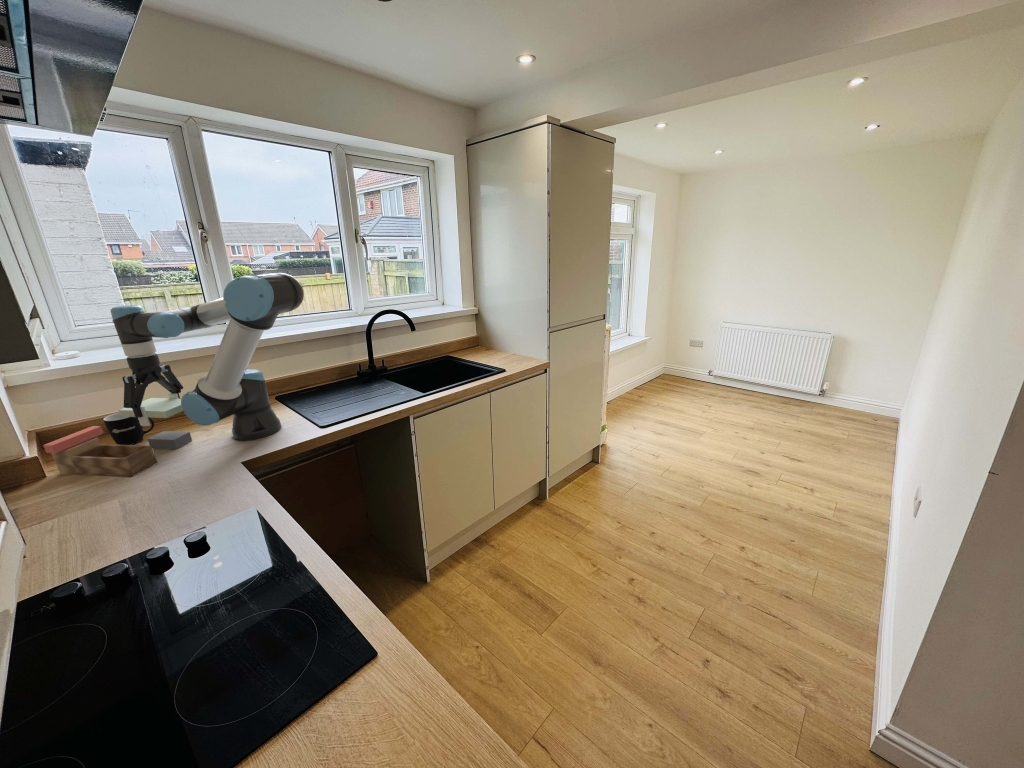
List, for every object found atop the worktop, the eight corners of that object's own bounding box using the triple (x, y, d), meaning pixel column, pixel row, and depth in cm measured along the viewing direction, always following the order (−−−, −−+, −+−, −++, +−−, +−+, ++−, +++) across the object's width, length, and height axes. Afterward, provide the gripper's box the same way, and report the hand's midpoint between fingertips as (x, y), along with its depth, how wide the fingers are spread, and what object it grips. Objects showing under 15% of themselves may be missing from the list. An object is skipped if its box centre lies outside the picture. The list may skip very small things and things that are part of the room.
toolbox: (157, 462, 126) (149, 439, 123) (130, 477, 118) (121, 452, 116) (91, 460, 129) (81, 437, 126) (60, 474, 121) (49, 449, 118)
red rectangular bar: (103, 433, 128) (100, 426, 127) (55, 453, 115) (51, 445, 115) (95, 433, 128) (92, 425, 127) (46, 452, 116) (42, 445, 115)
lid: (196, 404, 138) (194, 398, 137) (167, 417, 128) (165, 411, 127) (153, 403, 140) (151, 397, 139) (120, 416, 130) (118, 410, 129)
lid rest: (192, 441, 140) (189, 431, 139) (177, 449, 135) (173, 439, 133) (166, 440, 141) (163, 431, 140) (150, 448, 136) (147, 438, 135)
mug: (111, 450, 135) (100, 423, 132) (115, 441, 142) (105, 414, 139) (157, 440, 142) (148, 413, 138) (159, 431, 149) (150, 406, 145)
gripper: (165, 346, 139) (183, 404, 146) (90, 365, 117) (116, 433, 124) (184, 346, 138) (201, 405, 145) (113, 365, 116) (137, 433, 123)
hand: (162, 418), depth 135 cm, fingers closed on lid, 11 cm apart
